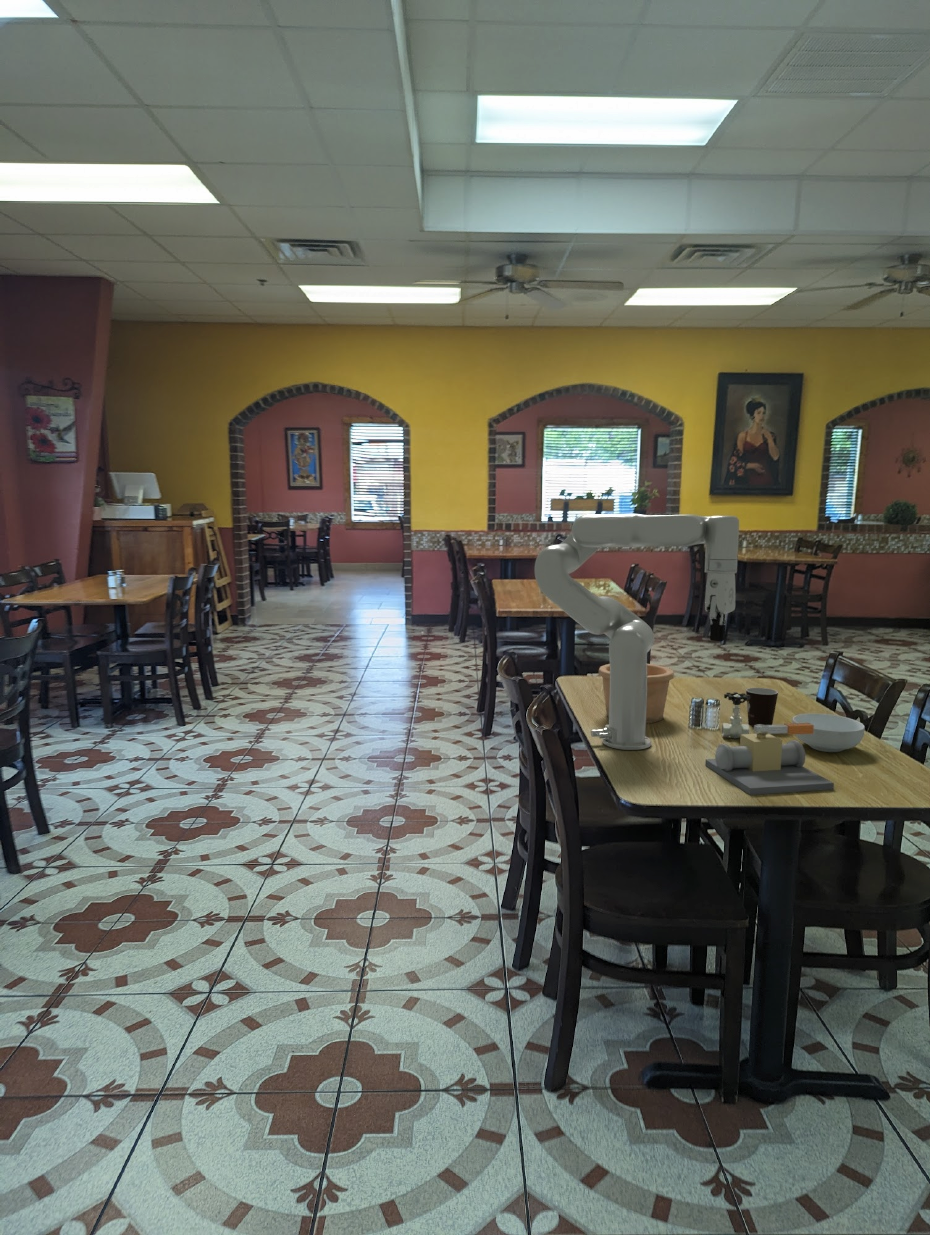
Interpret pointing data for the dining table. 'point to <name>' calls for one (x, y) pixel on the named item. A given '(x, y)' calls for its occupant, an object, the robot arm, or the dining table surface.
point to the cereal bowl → (830, 732)
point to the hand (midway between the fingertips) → (717, 640)
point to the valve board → (773, 779)
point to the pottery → (655, 689)
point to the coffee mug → (761, 705)
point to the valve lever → (784, 728)
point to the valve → (735, 717)
